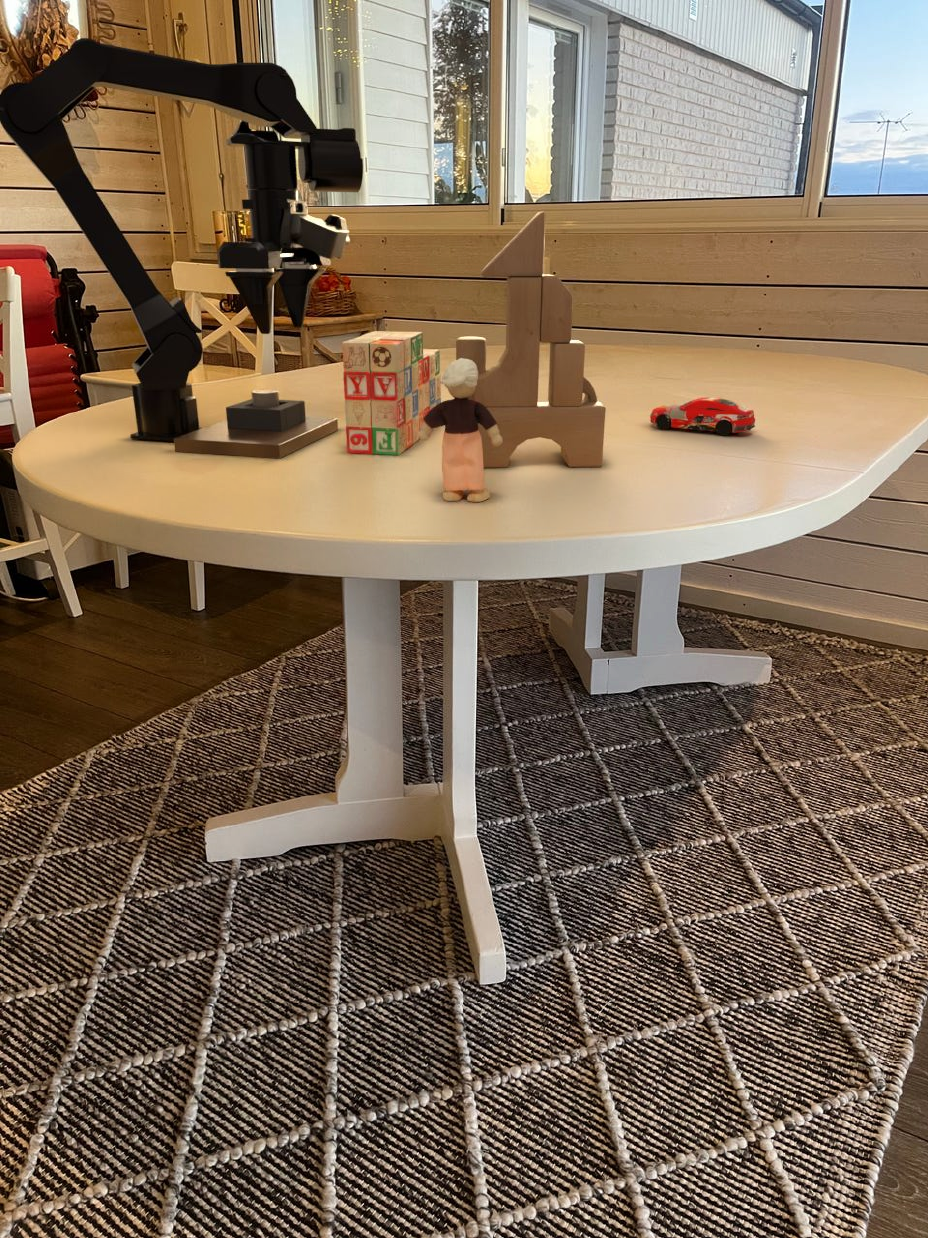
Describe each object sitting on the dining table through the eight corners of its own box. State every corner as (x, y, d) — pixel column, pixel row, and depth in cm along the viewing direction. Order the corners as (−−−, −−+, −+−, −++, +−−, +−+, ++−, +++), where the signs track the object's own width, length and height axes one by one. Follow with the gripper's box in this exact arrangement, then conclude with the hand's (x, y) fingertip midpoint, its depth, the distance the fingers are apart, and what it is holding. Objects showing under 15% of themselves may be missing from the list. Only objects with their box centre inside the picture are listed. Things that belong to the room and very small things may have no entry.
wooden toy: (590, 453, 104) (605, 213, 94) (602, 467, 98) (618, 211, 88) (455, 454, 103) (455, 212, 94) (458, 468, 97) (458, 210, 87)
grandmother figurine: (499, 492, 88) (502, 355, 83) (502, 502, 84) (504, 361, 79) (419, 492, 88) (417, 355, 83) (418, 503, 84) (416, 360, 79)
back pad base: (174, 451, 104) (169, 402, 102) (245, 424, 119) (241, 381, 117) (279, 458, 101) (275, 408, 99) (338, 430, 116) (336, 385, 114)
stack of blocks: (396, 419, 123) (394, 323, 118) (441, 421, 122) (441, 324, 117) (346, 453, 104) (341, 340, 99) (399, 455, 102) (397, 341, 98)
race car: (643, 428, 118) (645, 397, 117) (657, 422, 123) (659, 391, 121) (746, 438, 112) (750, 405, 111) (757, 431, 116) (760, 399, 115)
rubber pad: (227, 428, 109) (225, 407, 108) (254, 418, 115) (252, 398, 114) (281, 431, 107) (280, 410, 106) (306, 421, 114) (304, 400, 113)
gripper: (303, 185, 96) (312, 339, 102) (366, 193, 113) (370, 325, 119) (208, 186, 99) (222, 336, 105) (283, 194, 116) (291, 323, 122)
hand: (282, 330), depth 113 cm, fingers open, 9 cm apart
